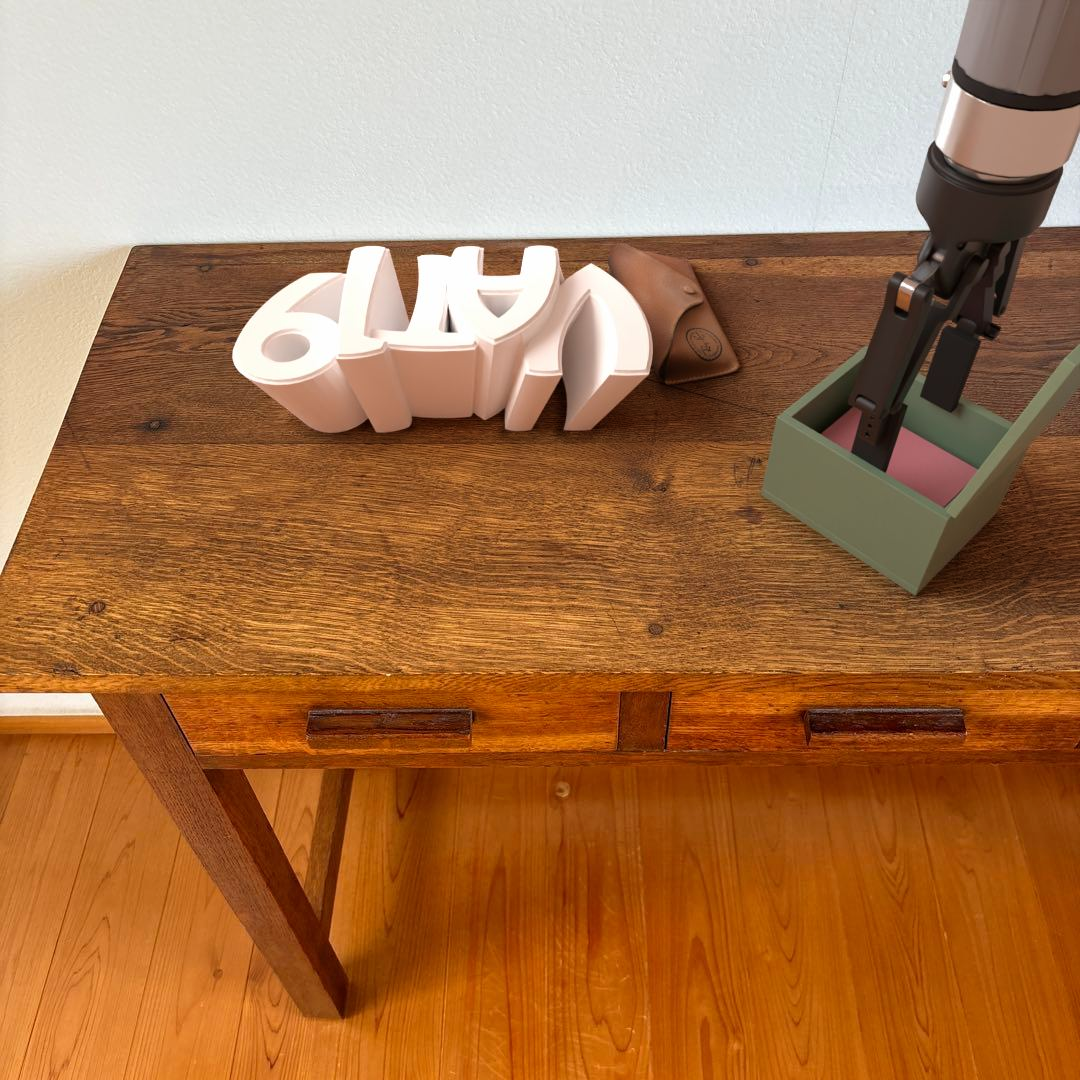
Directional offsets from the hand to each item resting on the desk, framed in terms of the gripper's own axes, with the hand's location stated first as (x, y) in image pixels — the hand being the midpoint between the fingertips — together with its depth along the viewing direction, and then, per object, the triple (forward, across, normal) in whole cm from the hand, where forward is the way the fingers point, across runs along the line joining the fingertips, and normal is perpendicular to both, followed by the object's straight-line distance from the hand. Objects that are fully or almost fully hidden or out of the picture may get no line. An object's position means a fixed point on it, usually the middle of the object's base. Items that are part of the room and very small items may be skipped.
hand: (903, 432), depth 76 cm
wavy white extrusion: (+8, +15, -35) cm, 39 cm away
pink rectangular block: (+7, 0, 0) cm, 7 cm away
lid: (-9, 0, +8) cm, 12 cm away
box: (+8, 0, 0) cm, 8 cm away
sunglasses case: (+8, -6, -28) cm, 30 cm away
